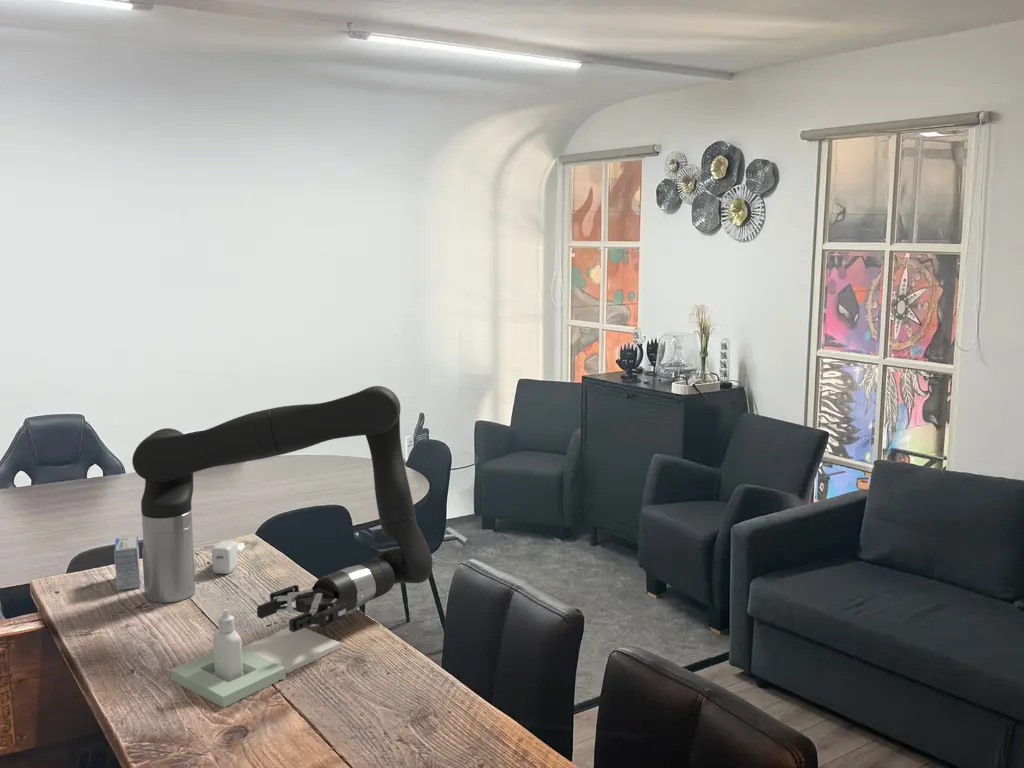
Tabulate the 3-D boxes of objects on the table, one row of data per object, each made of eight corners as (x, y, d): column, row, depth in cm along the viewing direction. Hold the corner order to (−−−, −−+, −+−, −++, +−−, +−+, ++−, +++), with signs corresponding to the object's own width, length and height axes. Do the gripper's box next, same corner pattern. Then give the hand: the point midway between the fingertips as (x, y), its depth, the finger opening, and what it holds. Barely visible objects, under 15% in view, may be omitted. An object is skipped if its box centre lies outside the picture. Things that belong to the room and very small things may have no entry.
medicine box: (140, 588, 187) (138, 547, 186) (116, 591, 185) (113, 550, 184) (140, 574, 194) (138, 535, 193) (117, 577, 193) (114, 537, 191)
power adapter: (229, 555, 206) (228, 530, 205) (250, 556, 205) (249, 531, 204) (209, 574, 195) (208, 548, 194) (231, 575, 194) (230, 549, 193)
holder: (171, 679, 150) (170, 669, 150) (233, 653, 160) (232, 643, 159) (223, 707, 142) (223, 696, 142) (286, 678, 151) (285, 667, 151)
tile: (241, 652, 160) (241, 647, 160) (296, 629, 169) (296, 624, 169) (286, 673, 153) (286, 668, 153) (341, 648, 162) (341, 642, 162)
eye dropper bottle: (242, 669, 154) (239, 601, 152) (243, 685, 149) (240, 615, 147) (214, 673, 153) (211, 604, 151) (215, 689, 147) (211, 618, 145)
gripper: (318, 562, 173) (247, 588, 161) (372, 580, 165) (301, 609, 152) (319, 599, 175) (248, 628, 162) (372, 619, 166) (302, 652, 153)
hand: (274, 619), depth 157 cm, fingers open, 8 cm apart
